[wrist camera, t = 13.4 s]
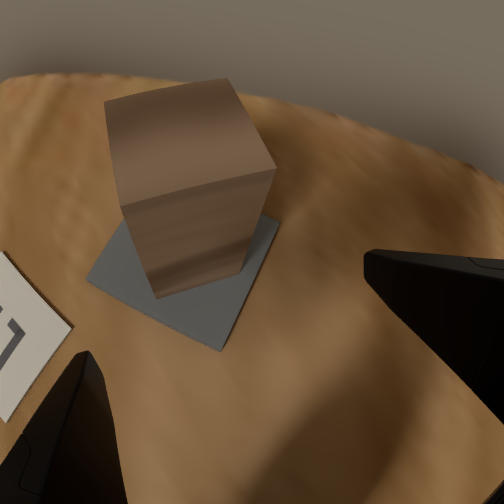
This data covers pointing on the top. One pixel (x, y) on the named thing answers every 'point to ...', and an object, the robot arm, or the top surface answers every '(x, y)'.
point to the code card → (23, 336)
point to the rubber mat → (186, 302)
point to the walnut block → (188, 181)
